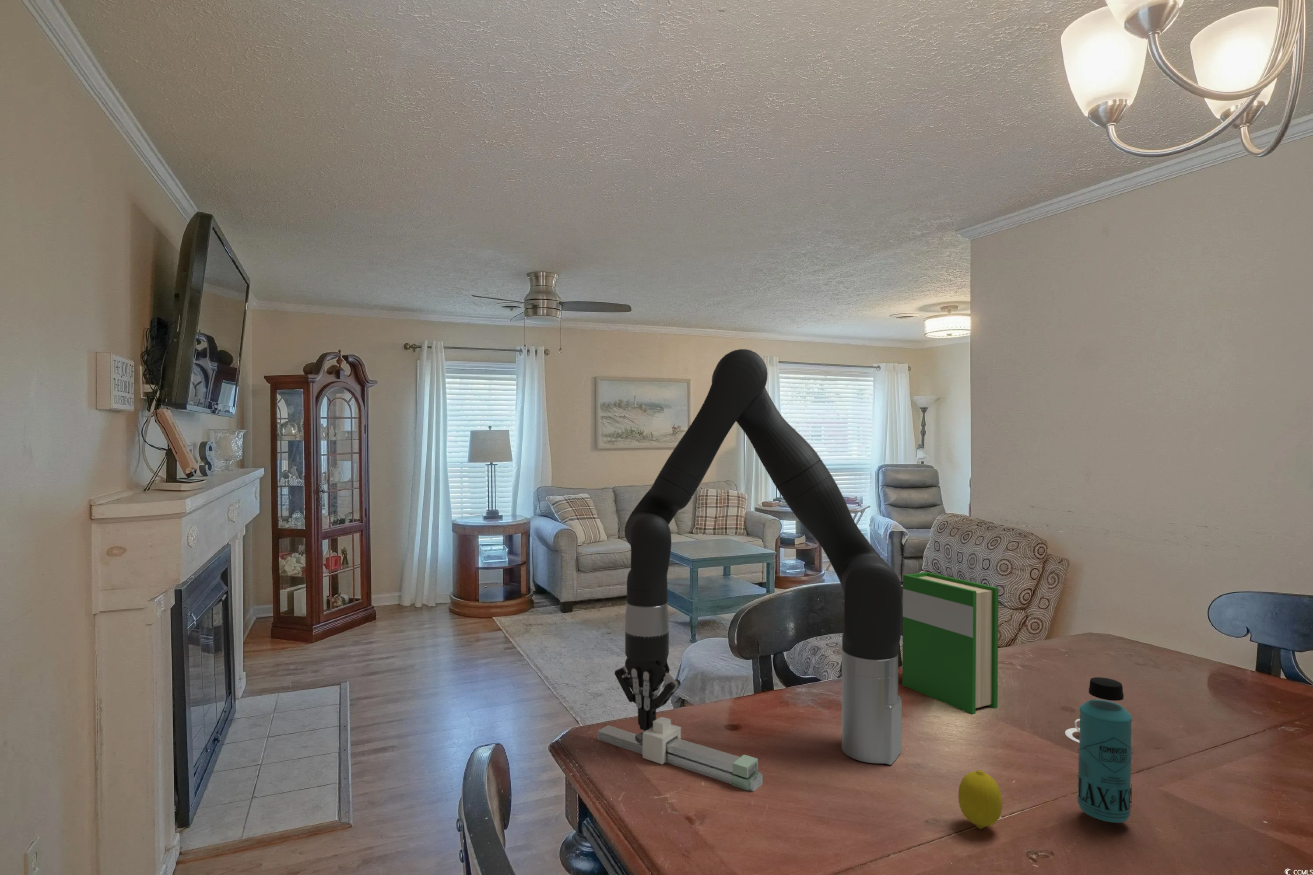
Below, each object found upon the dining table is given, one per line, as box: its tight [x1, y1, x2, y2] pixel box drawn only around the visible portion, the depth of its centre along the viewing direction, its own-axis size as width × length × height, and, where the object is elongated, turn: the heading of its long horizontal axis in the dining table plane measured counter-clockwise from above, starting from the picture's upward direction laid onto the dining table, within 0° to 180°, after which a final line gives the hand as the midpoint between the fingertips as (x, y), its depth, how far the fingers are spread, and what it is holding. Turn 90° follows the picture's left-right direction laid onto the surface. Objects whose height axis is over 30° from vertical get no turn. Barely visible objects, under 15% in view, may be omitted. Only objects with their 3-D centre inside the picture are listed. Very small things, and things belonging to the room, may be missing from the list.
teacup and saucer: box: [1064, 718, 1080, 744], centre depth 125 cm, size 9×8×4 cm
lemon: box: [957, 769, 1003, 830], centre depth 97 cm, size 6×6×8 cm
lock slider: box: [642, 716, 682, 765], centre depth 118 cm, size 4×6×6 cm
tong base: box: [596, 724, 764, 792], centre depth 116 cm, size 31×4×3 cm, turn 55°
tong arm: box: [666, 737, 759, 778], centre depth 114 cm, size 20×4×2 cm, turn 55°
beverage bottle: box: [1076, 676, 1133, 824], centre depth 98 cm, size 6×7×20 cm
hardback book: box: [901, 571, 999, 715], centre depth 145 cm, size 18×7×24 cm, turn 27°
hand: (646, 728), depth 120 cm, fingers closed
